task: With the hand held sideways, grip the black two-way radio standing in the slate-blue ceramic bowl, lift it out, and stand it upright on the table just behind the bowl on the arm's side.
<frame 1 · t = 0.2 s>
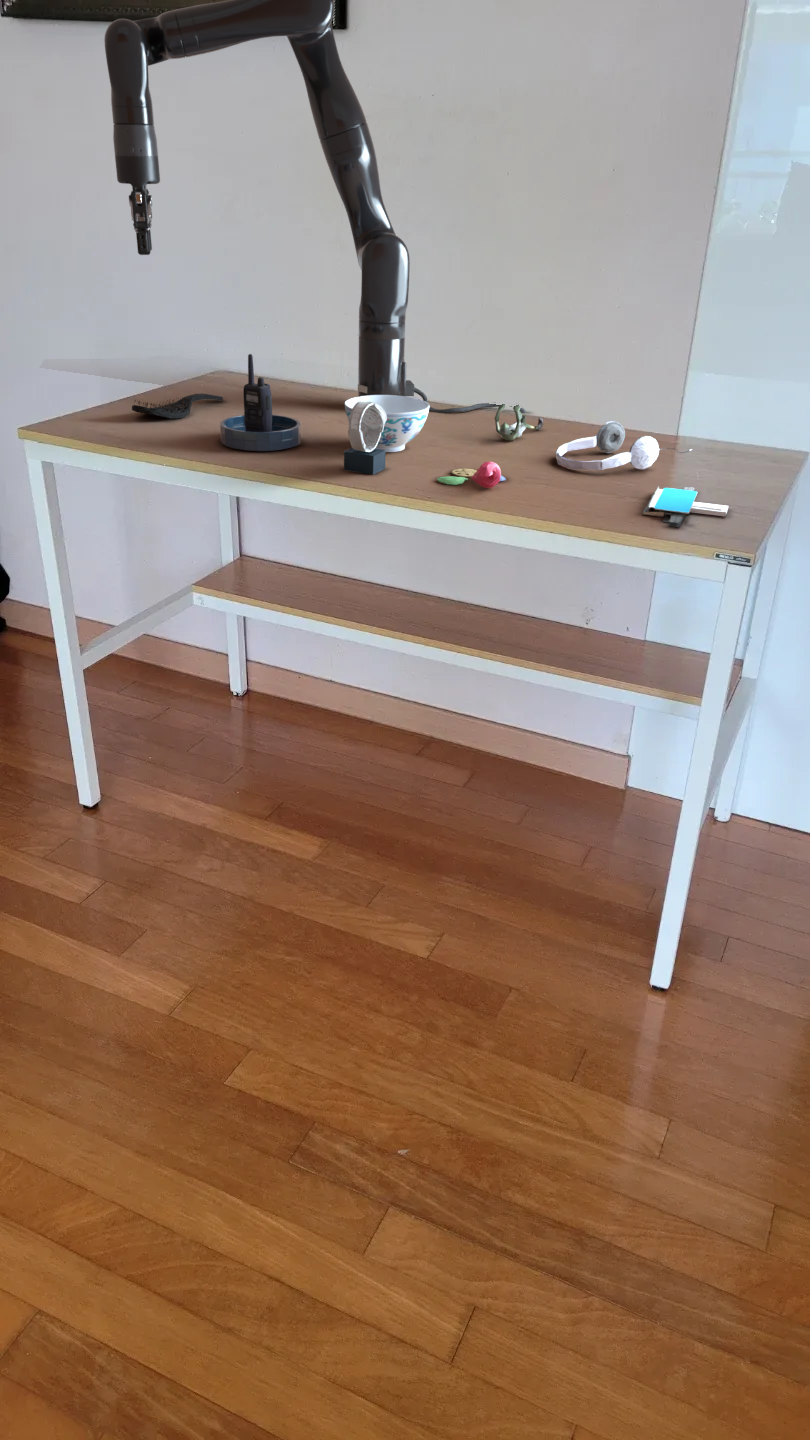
hand: (145, 252, 198), 29 cm above the table, tool pointing down, fingers open, 8 cm apart
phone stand: (686, 510, 165), on the table
hairbrush: (182, 412, 213), on the table
bowl: (261, 442, 193), on the table
toy pieces: (474, 481, 175), on the table
zombie figurine: (515, 437, 203), on the table
headphones: (613, 465, 187), on the table
chinaware: (386, 448, 192), on the table
watch: (364, 470, 179), on the table
two-way radio: (261, 442, 193), resting on bowl
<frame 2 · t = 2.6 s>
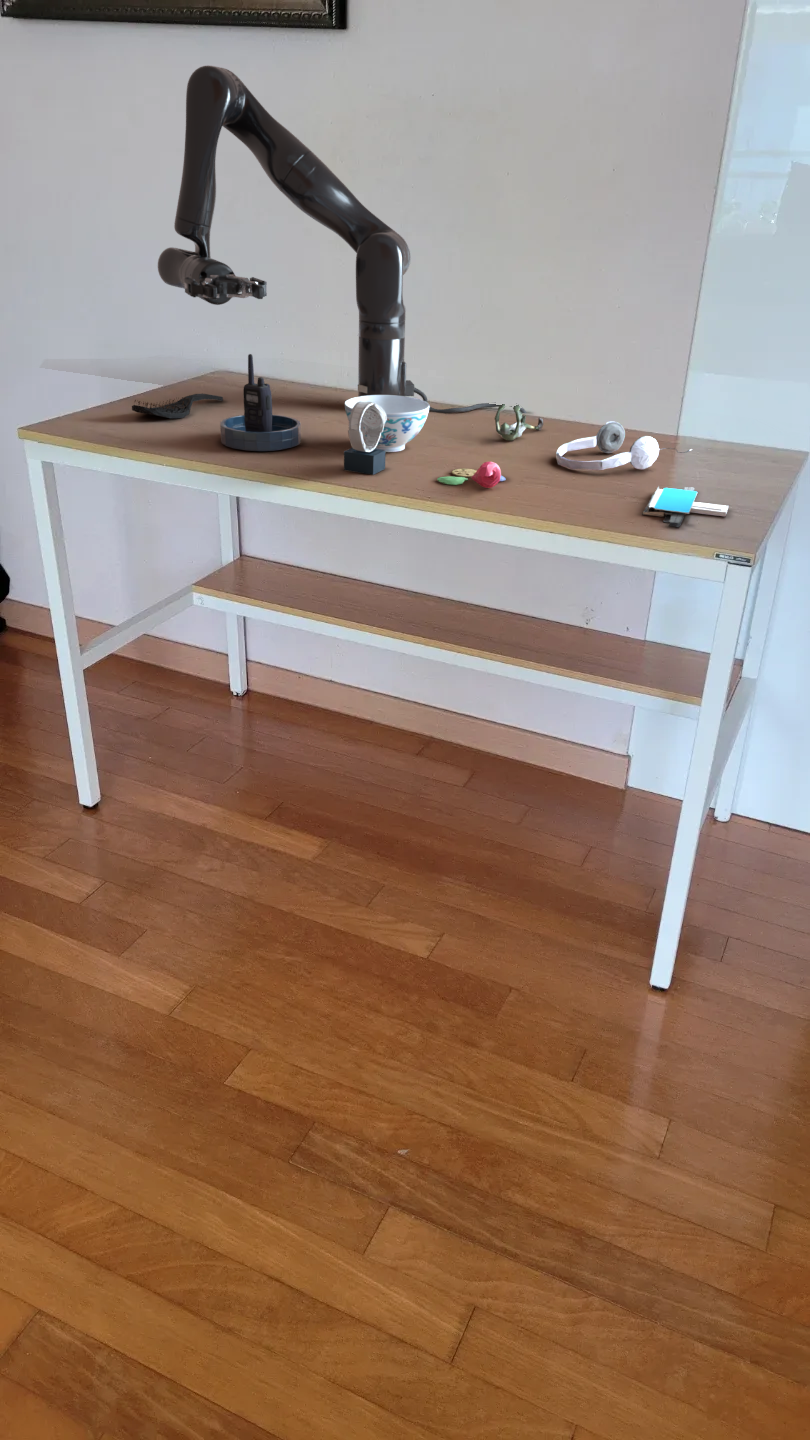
hand: (238, 293, 190), 24 cm above the table, tool horizontal, fingers open, 8 cm apart
nothing on the table moved.
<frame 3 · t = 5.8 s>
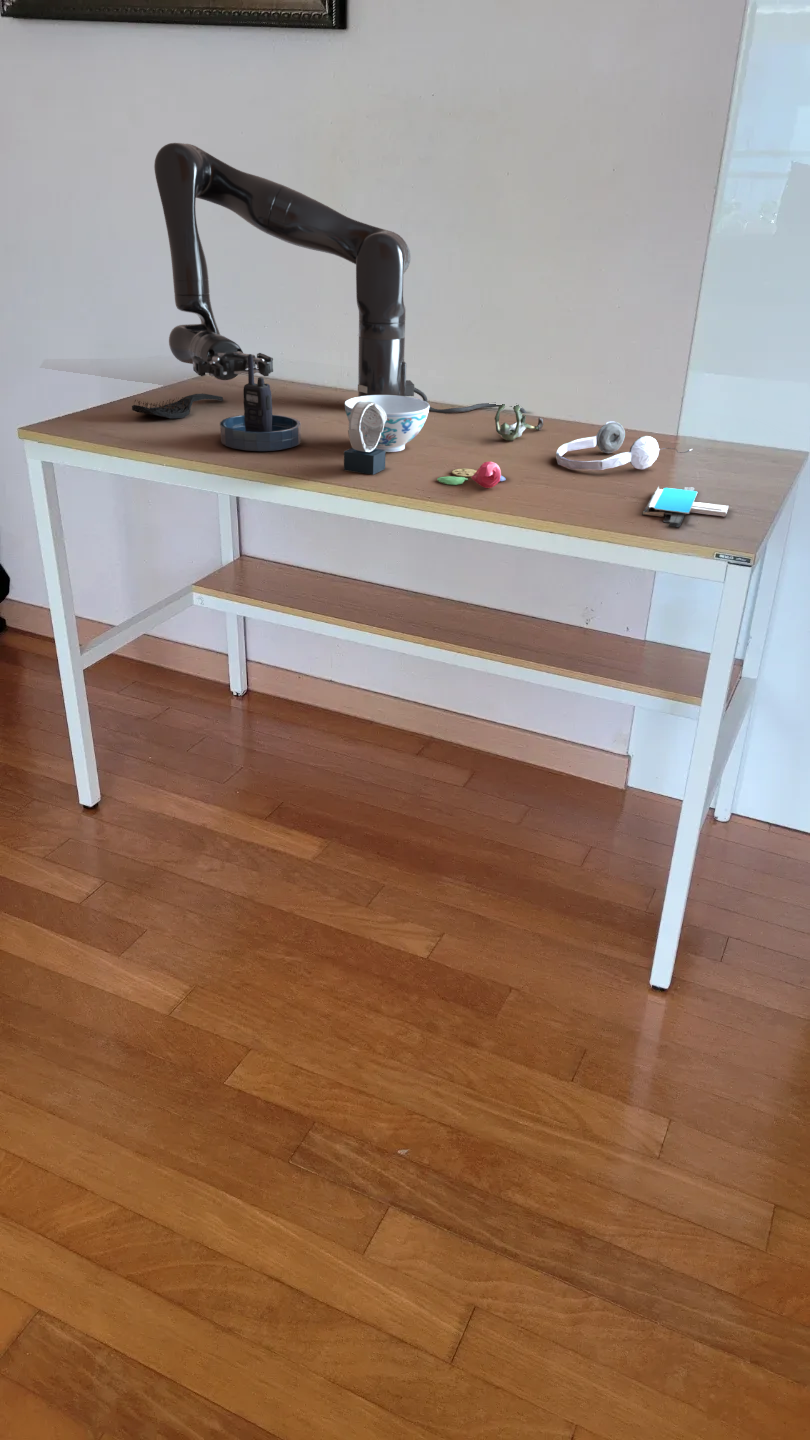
hand: (244, 371, 194), 11 cm above the table, tool horizontal, fingers open, 8 cm apart
nothing on the table moved.
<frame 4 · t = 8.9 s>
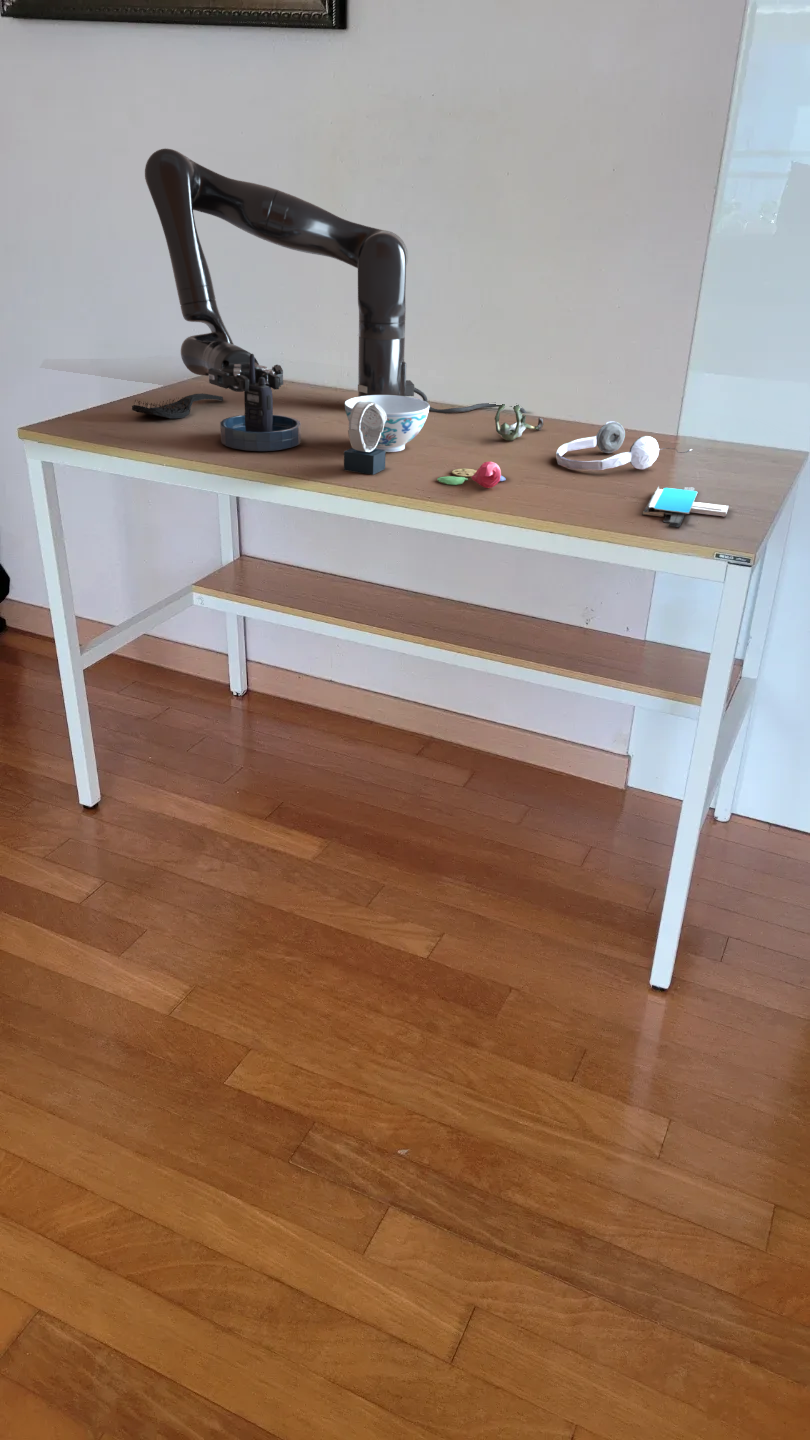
hand: (262, 384, 186), 11 cm above the table, tool horizontal, fingers closed on two-way radio, 5 cm apart
two-way radio: (261, 441, 193), resting on bowl, touching gripper
everything else where it was.
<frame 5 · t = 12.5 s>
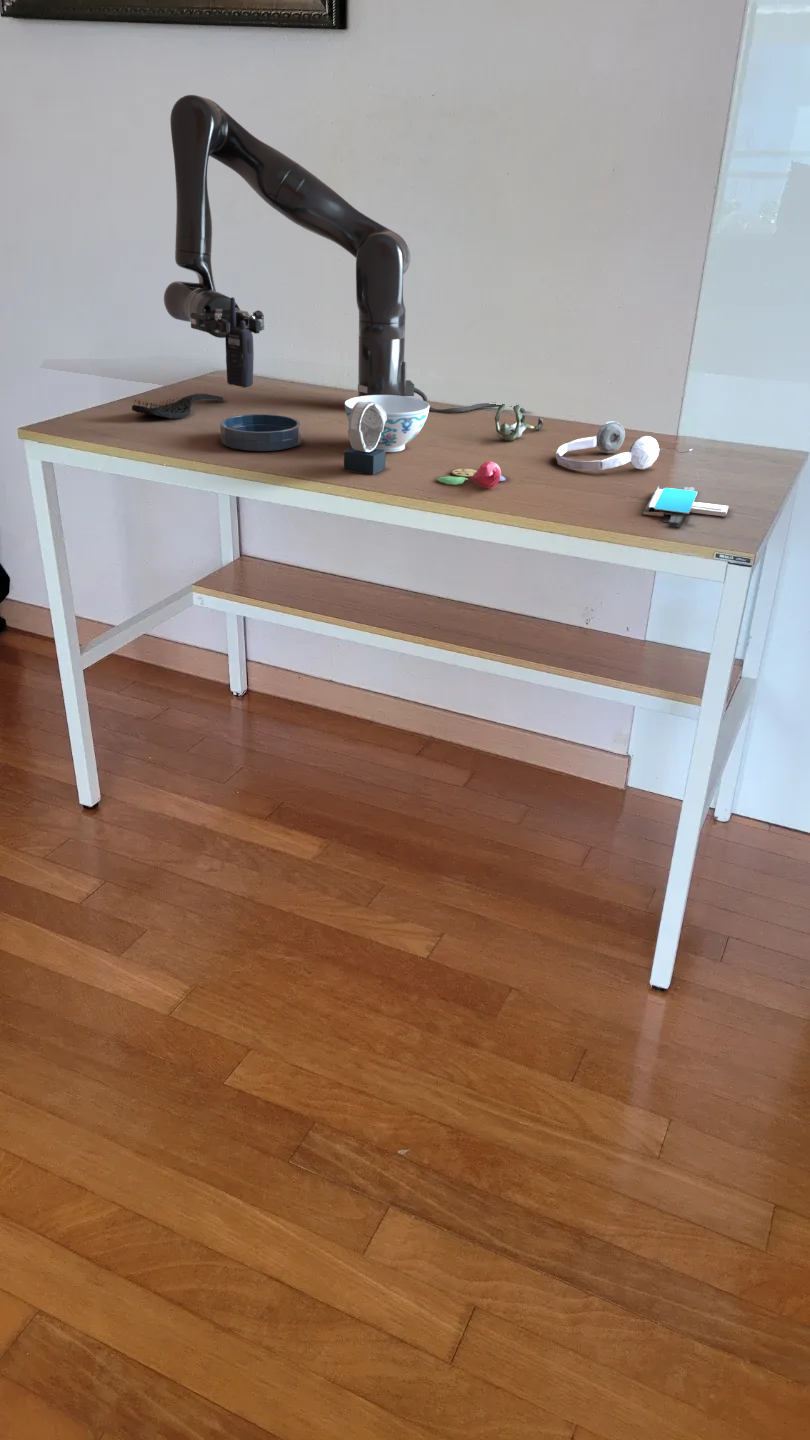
hand: (242, 327, 189), 19 cm above the table, tool horizontal, fingers closed on two-way radio, 5 cm apart
two-way radio: (242, 386, 196), point 8 cm above the table, touching gripper
everything else where it was.
when the fingers open (10 cm above the table, at t = 16.6 s): two-way radio stays where it is, on the table.
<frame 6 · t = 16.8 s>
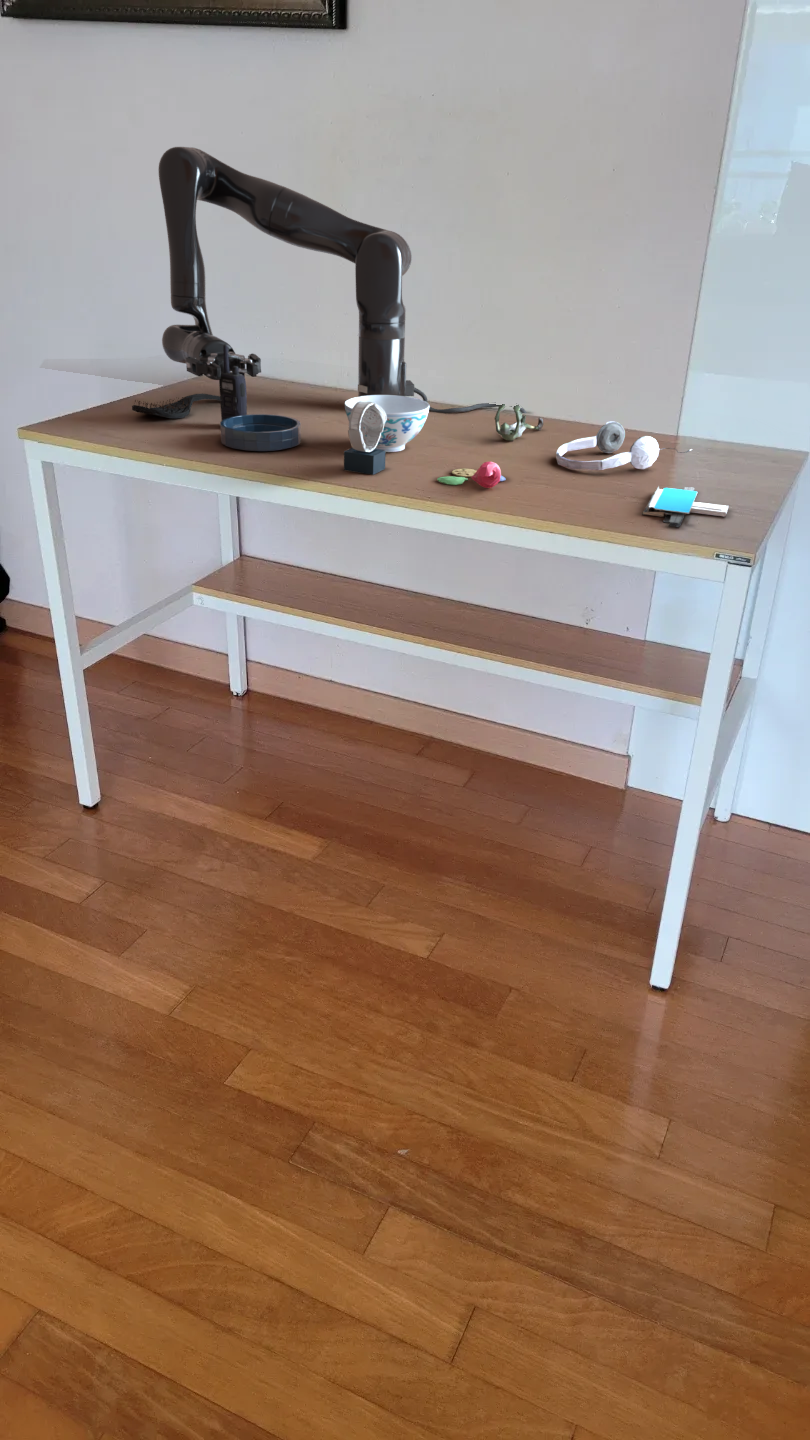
hand: (236, 372, 197), 10 cm above the table, tool horizontal, fingers open, 6 cm apart
two-way radio: (236, 427, 203), on the table
everything else where it was.
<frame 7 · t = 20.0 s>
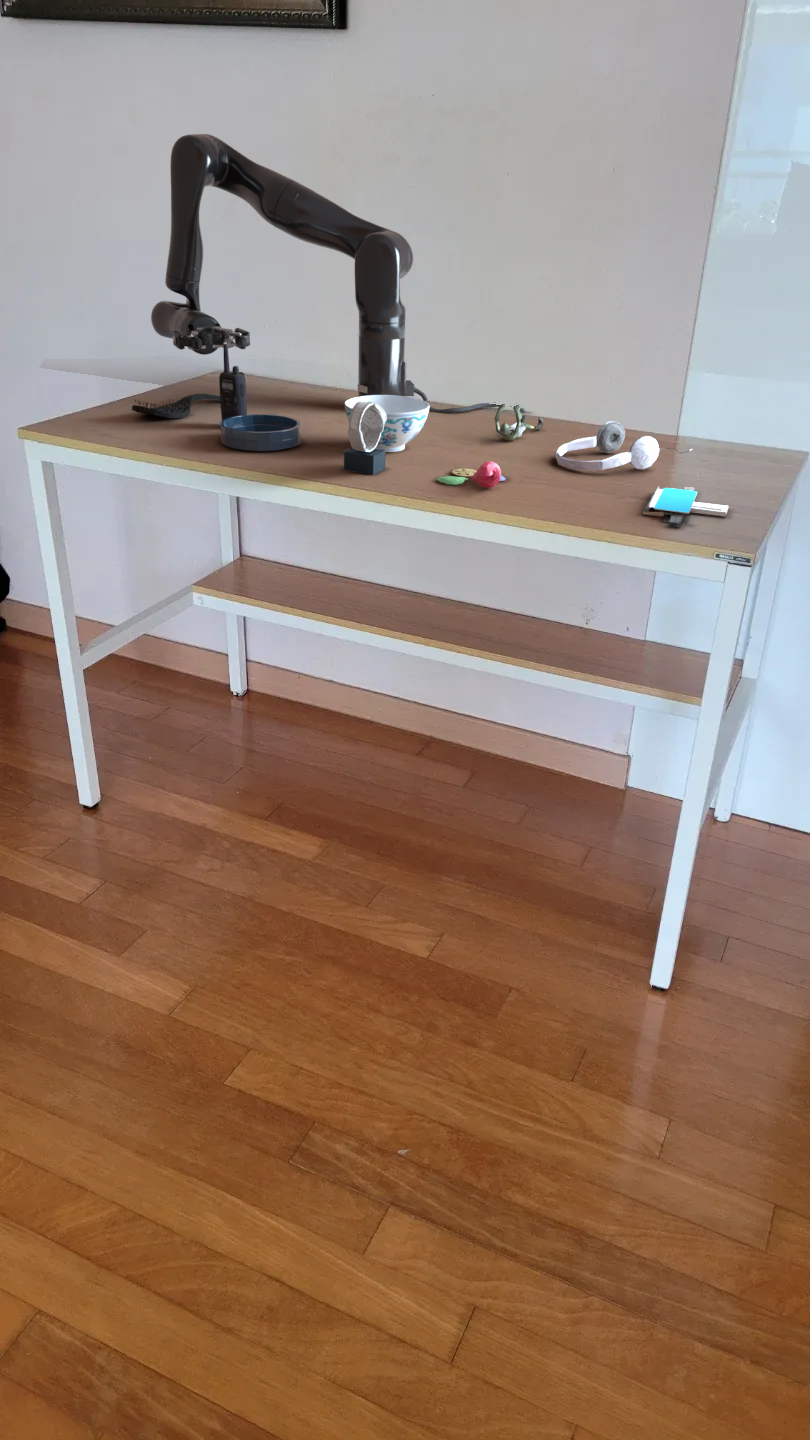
hand: (222, 344, 202), 14 cm above the table, tool horizontal, fingers open, 8 cm apart
nothing on the table moved.
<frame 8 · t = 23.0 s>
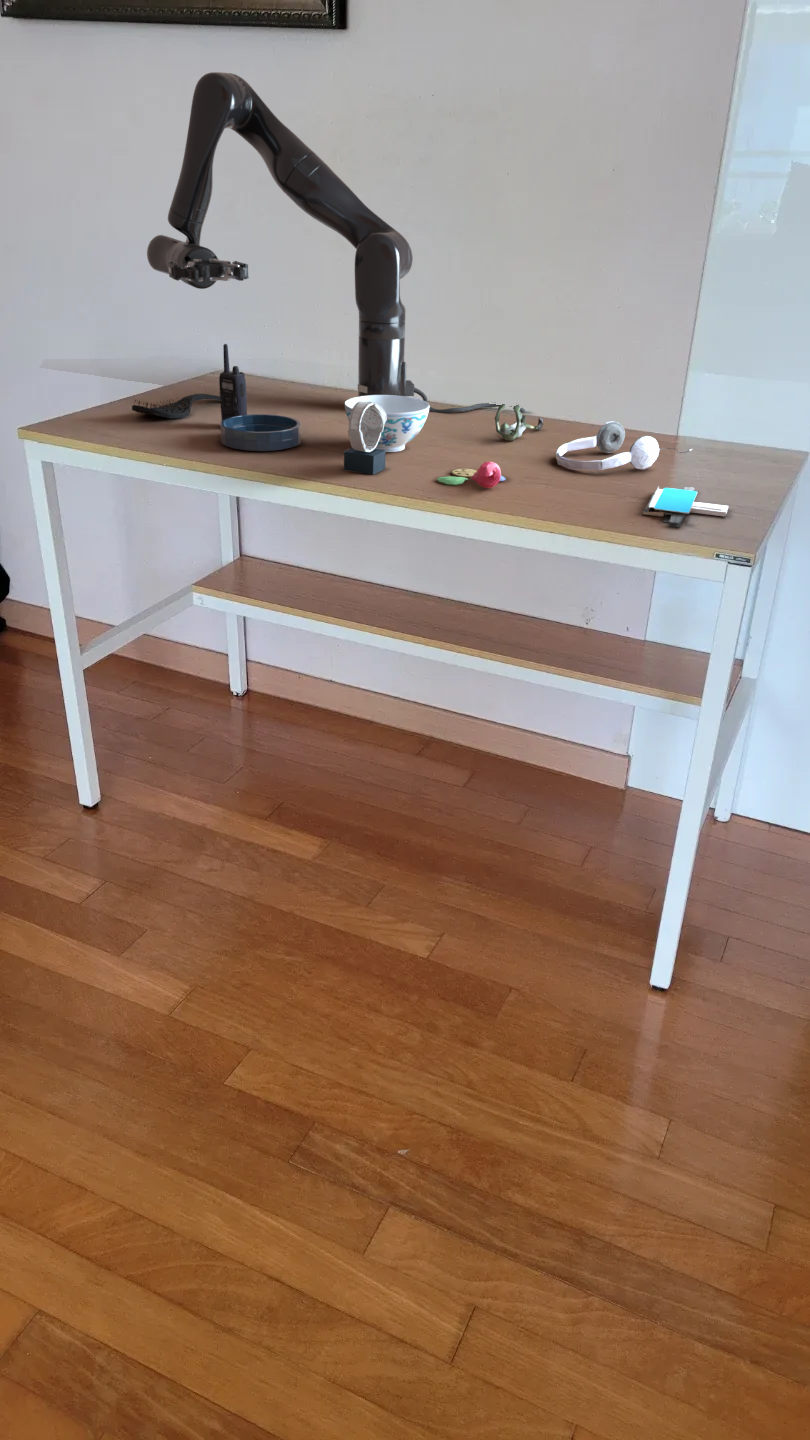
hand: (219, 274, 196), 26 cm above the table, tool horizontal, fingers open, 8 cm apart
nothing on the table moved.
at the end: two-way radio inside the target area (0.4 cm from its centre), on the table; two-way radio tilted 0°; the gripper is holding nothing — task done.
